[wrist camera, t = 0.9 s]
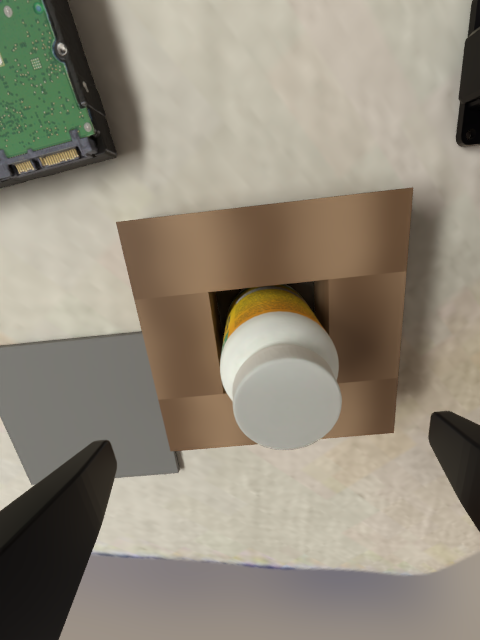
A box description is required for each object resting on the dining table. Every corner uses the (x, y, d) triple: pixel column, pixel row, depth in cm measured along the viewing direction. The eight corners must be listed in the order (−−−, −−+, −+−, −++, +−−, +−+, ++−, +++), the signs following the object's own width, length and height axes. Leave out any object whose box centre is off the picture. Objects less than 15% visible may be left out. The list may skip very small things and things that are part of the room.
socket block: (380, 191, 17) (413, 187, 14) (371, 399, 22) (393, 432, 19) (138, 219, 18) (116, 222, 15) (180, 416, 23) (170, 451, 19)
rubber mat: (147, 330, 20) (145, 333, 20) (179, 468, 25) (178, 473, 24) (-25, 348, 21) (-30, 350, 21) (34, 480, 25) (31, 484, 25)
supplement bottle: (315, 344, 21) (372, 449, 12) (239, 363, 21) (238, 478, 12) (298, 267, 19) (349, 323, 10) (215, 291, 19) (193, 364, 10)
